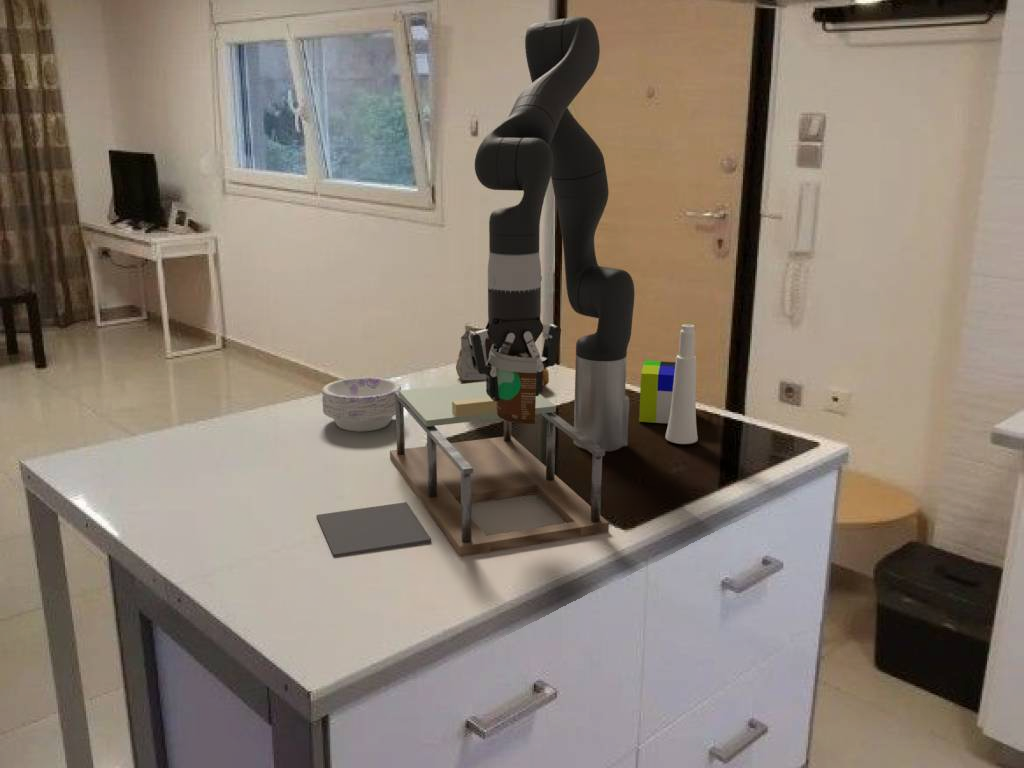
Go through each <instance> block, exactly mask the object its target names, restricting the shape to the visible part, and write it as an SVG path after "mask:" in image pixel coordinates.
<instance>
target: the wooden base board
mask: <svg viewBox="0 0 1024 768" xmlns="http://www.w3.org/2000/svg"><path fill="white" fill-rule="evenodd" d="M450 444H451V445H452V446H453V447H454V448H455V449H456V450H457V451H458V452H459V453H460V454H461V455H462V457H463V458H464V459H465V460H466V461H467V462H468V463H469V464H470V465H471V466H472V467H473V474H471V504H474V503H480V502H487V501H488V502H489V501H492V500H493V501H495V500H501V499H507V498H513V497H514V498H515V497H516V498H517V497H521V496H529V495H535V494H537V495H538V496H539V498H541V499H542V500H543V501H544V502H545V503H546V504H547V505H548V506H549V507H550V508H551V509H552V510H553V511H554V512H555V513H556V514H557V515H558V516H559V517H560V518H561V519H562V520H563V521H564V522H565V523H560V524H559V523H557V524H553V525H545V526H541V527H534V528H527V529H521V530H514V531H509V532H503V533H501V532H500V533H496V534H491V535H485V532H483V531H482V529H480V527H479V526H478V525H477V524H476V522H475V521H474V520H473V519H472V517H471V529H472V541H471V542H469V543H464V542H462V529H461V472H460V470H459V469H458V468H457V467H456V466H455V465H454V464H453V462H452V461H451V460H450V459H449V458H448V457H447V456H446V454H445V453H444V452H443V451H442V450H441V449H440V448H439V447H438V445H437V444H436V456H437V497H429V496H428V459H427V445H425V446H417V447H409V448H408V447H407V448H405V454H403V455H398V454H397V449H393V450H389V458H390V460H391V461H392V463H393V464H394V466H395V467H396V468H397V470H398V472H399V473H400V474H401V476H402V477H403V479H404V480H405V481H406V482H407V484H408V486H409V488H411V490H412V491H413V492H414V494H415V496H416V497H417V498H418V500H419V501H420V503H421V504H422V506H423V507H424V508H425V510H426V511H427V512H428V514H429V515H430V517H431V518H432V519H433V521H434V522H435V524H436V525H437V527H438V528H439V530H440V531H441V532H442V533H443V535H444V536H445V538H446V539H447V541H448V542H449V544H450V546H452V548H453V549H454V550H455V552H456V554H457V555H458V556H459V557H461V558H462V557H466V556H471V555H478V554H484V553H490V552H495V551H496V552H497V551H501V550H508V549H514V548H519V547H521V548H522V547H525V546H526V547H527V546H533V545H538V544H544V543H550V542H556V541H563V540H568V539H573V538H580V537H581V538H582V537H586V536H591V535H598V534H604V533H605V534H606V533H609V530H610V529H609V528H610V522H609V521H608V520H607V519H606V518H604V517H603V516H602V515H601V514H600V521H599V522H592V521H591V504H589V503H588V502H586V501H585V500H584V499H583V497H581V496H579V495H578V493H576V492H575V490H573V489H572V488H571V487H569V486H568V485H567V484H566V482H564V481H563V480H562V479H561V478H559V476H557V475H556V474H555V479H554V480H552V481H548V480H546V464H544V463H542V462H541V460H539V459H538V458H537V457H536V456H534V454H532V452H530V451H529V450H528V449H527V448H526V447H525V446H523V444H521V443H520V442H519V441H518V440H517V439H516V438H515V437H514V436H512V435H511V441H504V436H498V437H491V438H483V439H475V440H466V441H458V442H450Z"/></svg>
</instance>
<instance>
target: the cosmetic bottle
mask: <svg viewBox="0 0 1024 768" xmlns="http://www.w3.org/2000/svg"><path fill="white" fill-rule="evenodd" d="M681 328H682V329H681V330H680V331H679V345H678V354H677V355H676V358H675V362H676V364H675V373H674V383H673V393H672V402H671V410H670V417H669V422H668V424H667V428H666V431H665V436H664V437H665V439H666V441H667V442H670V443H672V444H673V443H674V444H676V445H677V444H678V445H692V444H694V443H697V442H698V440H699V437H698V429H697V413H696V411H697V410H696V408H697V406H696V404H697V402H696V401H697V400H696V399H697V398H696V397H697V391H696V389H697V356H695V347H696V345H695V344H696V331H695V330H694V329H695V325H694V324H689V323H688V324H682V325H681Z"/></svg>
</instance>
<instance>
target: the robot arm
mask: <svg viewBox="0 0 1024 768" xmlns="http://www.w3.org/2000/svg"><path fill="white" fill-rule="evenodd" d="M600 47H601V46H600V40H599V34H598V31H597V28H596V26H595V24H594V21H592V20H591V19H589V18H587V17H586V16H572V17H565V18H559V19H553V20H546V21H539V22H535V23H532V24H531V25H530V26H529V27H528V28H527V29H526V32H525V37H524V51H525V58H526V63H527V67H528V72H529V76H530V80H531V84H529V85H528V86H527V87H526V88H524V90H522V92H520V94H519V96H518V97H517V99H516V101H515V102H514V105H513V107H512V108H511V111H510V113H509V115H508V117H507V118H505V120H503V121H502V122H501V123H499V125H497V126H496V127H495V128H494V129H492V130H491V131H490V132H489V133H488V134H487V135H486V136H485V137H484V138H483V140H482V142H481V143H480V145H479V146H478V149H477V151H476V153H475V159H474V172H475V176H476V178H477V180H478V181H479V183H480V184H481V185H482V186H483V187H484V188H486V189H489V190H494V191H518V192H519V191H523V195H522V198H521V199H520V202H519V203H518V204H515V205H512V206H506V207H502V208H497V209H495V210H493V211H491V213H490V216H489V221H488V232H489V233H488V234H489V235H488V237H489V238H488V240H489V243H488V244H489V246H488V247H489V249H488V250H489V251H488V263H487V317H488V320H487V324H486V326H485V328H482V329H483V330H480V331H476V332H474V331H469V332H468V333H467V339H468V344H469V349H470V354H471V359H472V365H473V368H474V369H475V370H477V371H478V372H479V373H480V374H486V392H487V395H488V396H489V397H490V398H491V399H492V400H493V401H499V394H498V380H497V377H496V376H497V368H496V367H494V366H492V365H491V364H490V363H489V361H490V356H491V352H492V353H493V348H494V350H495V351H496V352H498V353H501V354H504V355H512V354H515V353H521V354H522V353H526V352H528V351H529V353H531V355H532V357H533V358H537V373H536V396H539V394H540V393H541V392H542V391H543V388H544V387H543V385H542V384H543V370H544V369H545V368H546V369H548V367H549V368H550V367H554V366H555V364H556V361H557V355H558V349H559V344H560V338H561V333H562V329H561V328H562V327H560V326H558V325H556V324H554V323H551V322H550V323H548V324H544V323H543V322H542V319H541V313H542V312H541V311H542V308H541V306H542V304H541V303H542V299H541V298H542V296H541V295H542V290H541V289H542V279H543V278H542V277H543V276H542V266H541V259H540V224H541V216H542V211H543V206H544V202H545V198H546V193H547V191H548V187H549V183H550V181H551V183H552V188H553V195H554V199H555V203H556V209H557V212H558V213H557V214H558V221H559V226H560V233H561V239H562V246H563V247H562V248H563V249H562V250H563V260H564V261H563V262H564V271H565V285H566V286H565V287H566V292H567V293H566V294H567V298H568V299H567V300H568V302H569V304H570V307H571V308H572V309H573V311H574V312H575V313H576V314H579V315H581V316H583V317H590V318H594V319H597V320H598V322H597V328H596V331H595V332H594V333H591V334H590V333H589V334H587V335H583V336H581V337H579V338H578V339H577V340H576V345H575V374H574V376H575V377H574V379H575V382H574V408H573V409H574V413H573V415H574V416H573V420H574V421H573V427H574V428H575V429H577V430H578V431H579V432H581V433H582V434H583V435H585V436H586V437H587V438H589V439H590V440H592V441H593V442H594V443H596V444H597V445H598V446H600V447H601V448H602V449H604V450H605V452H607V453H608V452H614V451H618V450H619V449H621V448H623V447H628V441H629V440H628V439H629V416H630V414H629V413H630V397H629V396H628V395H626V377H627V355H628V354H627V353H628V347H629V343H630V342H631V341H630V340H631V336H632V326H633V317H634V307H635V306H634V305H635V284H634V280H633V278H632V276H631V274H630V273H629V272H628V271H626V270H623V269H619V268H616V267H615V268H614V267H608V266H607V267H606V266H601V265H599V264H598V261H597V256H596V250H595V234H596V232H597V231H596V230H597V228H598V225H599V223H600V221H601V218H602V216H603V213H604V211H605V209H606V206H607V204H608V199H609V190H610V189H609V182H608V176H607V168H606V163H605V158H604V154H603V152H602V150H601V149H600V147H599V145H598V144H597V143H596V141H594V139H593V138H592V137H591V135H590V134H589V132H587V131H586V129H585V128H583V126H582V125H581V124H580V123H579V121H578V120H577V119H576V118H575V117H574V115H573V114H572V112H571V111H570V110H569V106H570V104H571V103H572V102H573V101H574V99H575V98H576V97H577V95H578V94H579V93H581V91H582V89H583V88H584V87H585V86H586V84H587V83H588V81H589V80H590V79H591V78H592V76H593V75H594V73H595V72H596V69H597V66H598V64H599V61H600V52H601V51H600V50H601V49H600ZM541 334H542V337H543V339H544V340H543V341H544V342H543V347H542V348H543V349H542V354H540V351H539V349H538V348H537V345H536V342H537V341H538V339H539V337H540V336H541ZM487 337H488V338H489V339H490V340H491V342H492V343H493V345H492V347H491V350H490V352H489V358H488V361H487V363H486V364H485V360H484V354H483V349H482V346H483V345H484V344H485V339H486V338H487ZM573 444H574V445H575V446H576V447H578V448H580V449H582V450H586V449H585V448H584V447H583V446H581V445H580V444H579V443H577V442H576V441H575V440H573Z"/></svg>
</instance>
